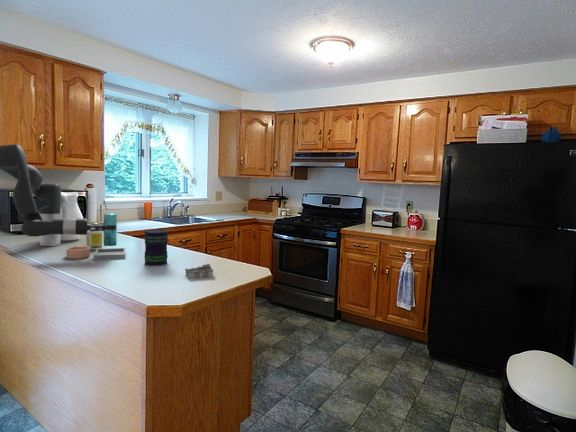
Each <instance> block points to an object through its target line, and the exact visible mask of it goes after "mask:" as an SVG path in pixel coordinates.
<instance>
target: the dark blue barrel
mask: <svg viewBox="0 0 576 432" xmlns="http://www.w3.org/2000/svg"><path fill="white" fill-rule="evenodd" d="M168 235H169V234H168V230H166V229H147V230H144V245H145V247H144V248H145V249H144V250H145V251H144V256H143V257H144V265H145V266H148V265H149V267H161V266H165V265H168V241H169V240H168V239H169V237H168Z"/></svg>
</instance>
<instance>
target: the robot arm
mask: <svg viewBox="0 0 576 432" xmlns="http://www.w3.org/2000/svg"><path fill="white" fill-rule="evenodd" d="M0 170H1V171H3V172H5V173H7V174H8V175H10V176H11V177H13V178H14V179H16V181H17V182H16V184H15V186H14V189H13V193H12V198H13V203H14V206H15V210H16V211H17V214H19V215H20V216H21V217H22V220H23V224H21V227H20V231H21V232H22V233H23V234H24V235H25V236H28V237H39V246H41V247H54V246H55V247H57V246H60V245H62V244H61V243H62V240H61V234H66V235H80V236H83V235H84V236H86V235H87V233H88V230H90V231H102V232H104V231H106V230H116V225H104V222H97V221H93V222H91V223H89V221H88V219H87V218H83V219H60V207H61V192H62V188H61V186H60V184H59V183H56V182H55V183H53V182H43V180H44V177H43V174H42V173H41V172H40V170H38V169H37V168H36V167H35V166H33V165H32V164H28V161H27V156H26V153H25V150H24V149H23V147H22V146H21V145H20V144H17V143H16V144H14V143H13V144H5V145H4V144H3V145H0ZM34 196H35V198H37V199H38V200H40V201H50V203H49V204H48V205H46V206H42V207H40V208H39V210H38V208H37V205H36V201H35V198H34Z"/></svg>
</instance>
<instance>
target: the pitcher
mask: <svg viewBox="0 0 576 432" xmlns="http://www.w3.org/2000/svg"><path fill="white" fill-rule="evenodd" d="M78 198H79V193H78V192H77V191H74V192H73V191H72V192H63V191H61V207H60V219H84V217H83V214H82V212H81V209H80V207H79V204H78ZM80 237H81V235H66V234H61V241H63V242H64V241H67V242H68V241H77V240H79V239H80Z"/></svg>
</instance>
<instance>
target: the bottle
mask: <svg viewBox="0 0 576 432" xmlns="http://www.w3.org/2000/svg"><path fill="white" fill-rule="evenodd" d="M103 223H104V225H116V230H106V231H103V246H104V247H115V246H117V241H118V240H117V239H118V238H117V235H118V233H117V232H118V231H117V230H118V227H117V226H118V225H117V224H118V214H117V213H104V214H103Z"/></svg>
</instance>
